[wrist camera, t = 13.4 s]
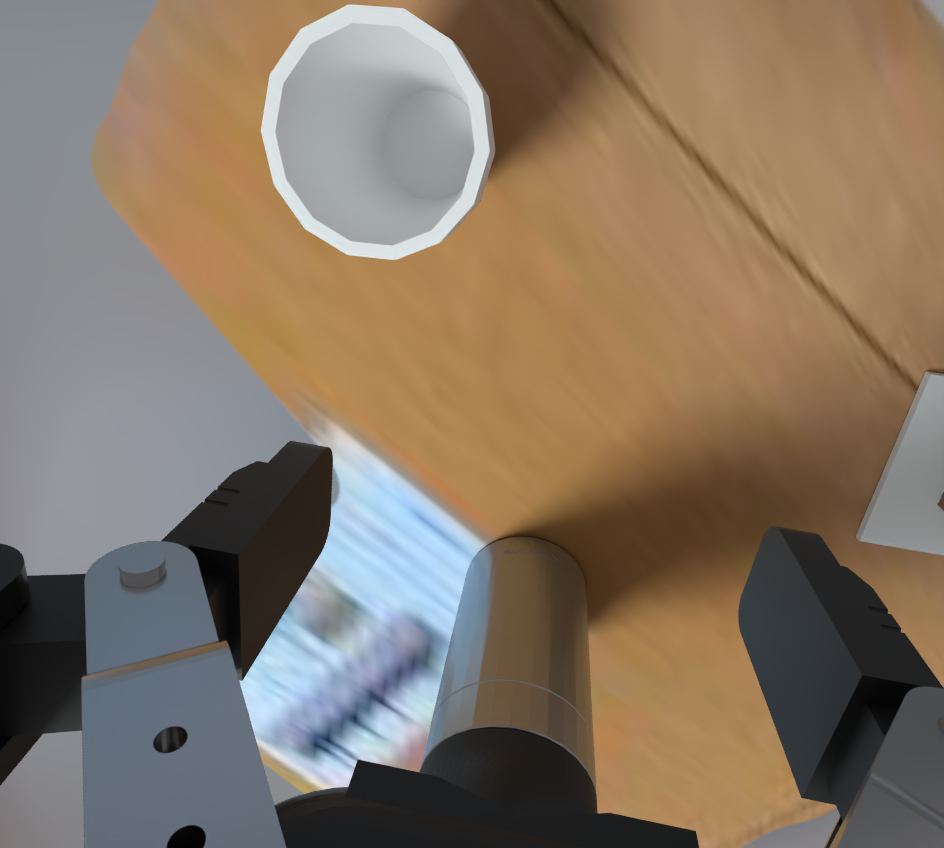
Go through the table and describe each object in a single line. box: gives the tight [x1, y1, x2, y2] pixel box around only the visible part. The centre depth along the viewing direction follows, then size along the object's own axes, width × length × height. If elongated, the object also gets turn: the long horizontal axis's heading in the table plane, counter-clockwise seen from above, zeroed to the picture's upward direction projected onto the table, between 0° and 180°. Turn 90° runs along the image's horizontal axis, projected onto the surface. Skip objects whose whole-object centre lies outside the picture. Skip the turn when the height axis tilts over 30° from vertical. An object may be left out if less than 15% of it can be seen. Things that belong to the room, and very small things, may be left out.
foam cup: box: [261, 5, 495, 260], centre depth 32 cm, size 10×9×13 cm
